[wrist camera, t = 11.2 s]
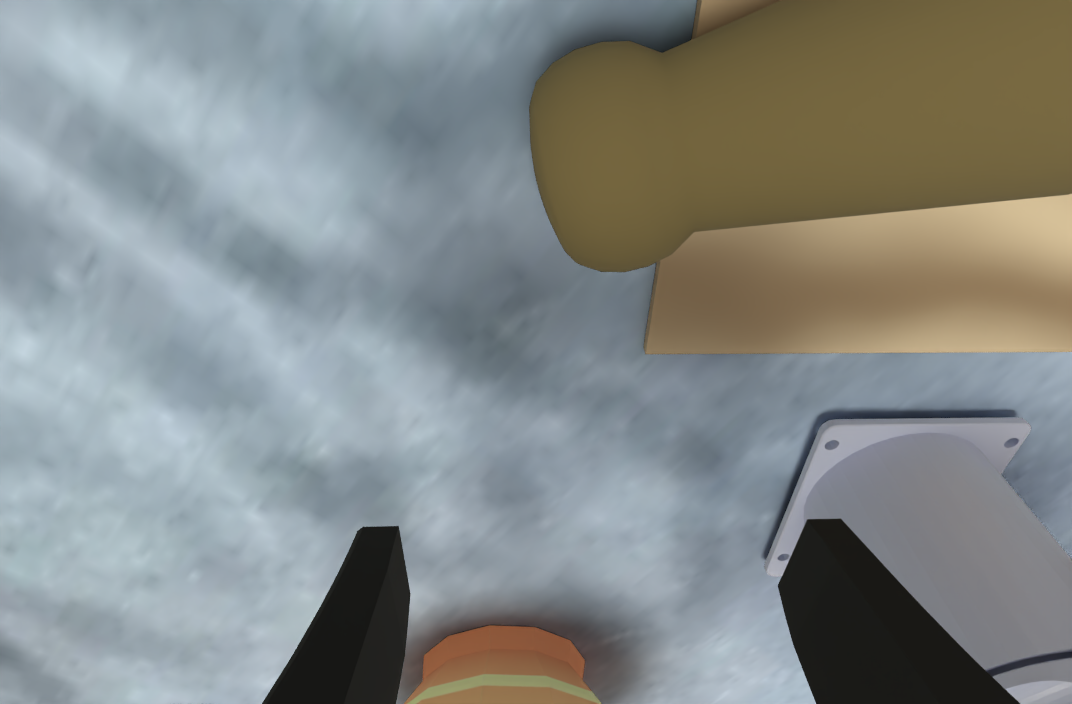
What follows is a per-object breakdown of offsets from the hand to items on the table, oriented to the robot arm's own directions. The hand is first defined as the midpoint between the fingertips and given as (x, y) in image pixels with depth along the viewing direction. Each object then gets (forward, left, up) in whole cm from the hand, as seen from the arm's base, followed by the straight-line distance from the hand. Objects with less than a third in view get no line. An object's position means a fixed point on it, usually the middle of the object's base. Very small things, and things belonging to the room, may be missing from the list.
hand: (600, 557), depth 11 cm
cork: (+7, -10, -7) cm, 14 cm away
